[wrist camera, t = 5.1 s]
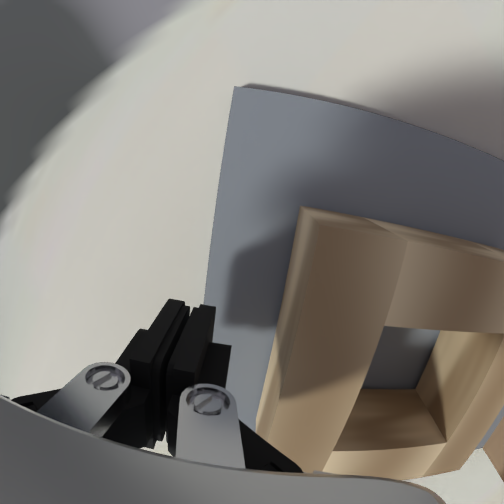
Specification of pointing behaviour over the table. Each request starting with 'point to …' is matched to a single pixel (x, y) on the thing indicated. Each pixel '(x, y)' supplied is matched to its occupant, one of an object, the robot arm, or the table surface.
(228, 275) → the slate base
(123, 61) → the table surface
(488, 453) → the walnut wall
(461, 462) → the oak block
